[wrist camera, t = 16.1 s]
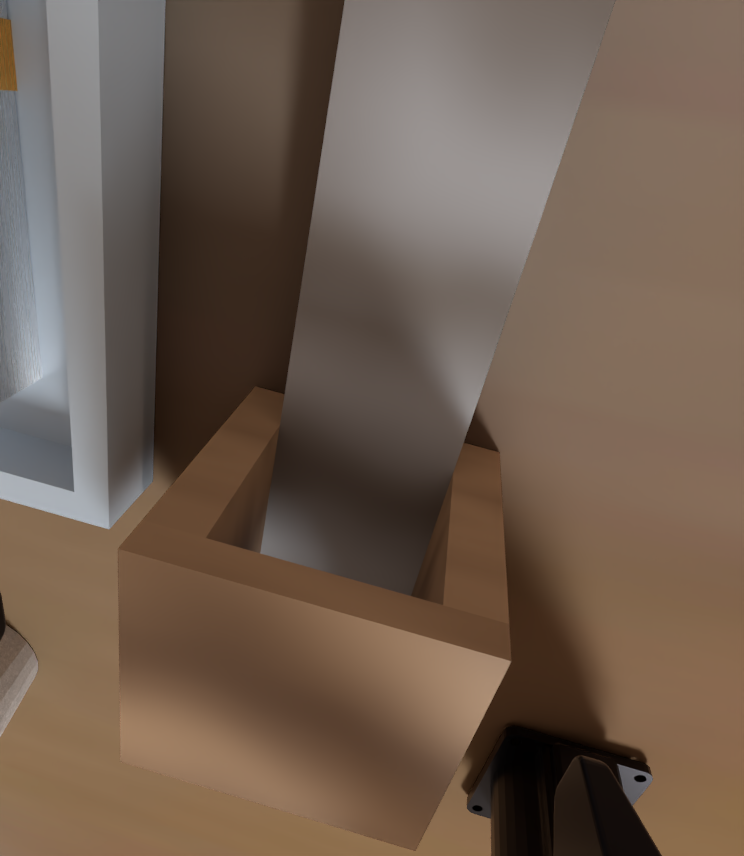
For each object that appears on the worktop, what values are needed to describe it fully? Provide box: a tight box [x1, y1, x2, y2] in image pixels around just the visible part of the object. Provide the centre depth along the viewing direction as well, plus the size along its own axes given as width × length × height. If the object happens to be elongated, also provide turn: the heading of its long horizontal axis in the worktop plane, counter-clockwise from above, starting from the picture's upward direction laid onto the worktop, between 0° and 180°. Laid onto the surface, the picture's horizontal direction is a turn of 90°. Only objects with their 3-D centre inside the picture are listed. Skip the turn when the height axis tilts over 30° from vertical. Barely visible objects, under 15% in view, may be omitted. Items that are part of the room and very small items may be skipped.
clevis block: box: [118, 0, 616, 851], centre depth 13 cm, size 25×8×8 cm, turn 168°
